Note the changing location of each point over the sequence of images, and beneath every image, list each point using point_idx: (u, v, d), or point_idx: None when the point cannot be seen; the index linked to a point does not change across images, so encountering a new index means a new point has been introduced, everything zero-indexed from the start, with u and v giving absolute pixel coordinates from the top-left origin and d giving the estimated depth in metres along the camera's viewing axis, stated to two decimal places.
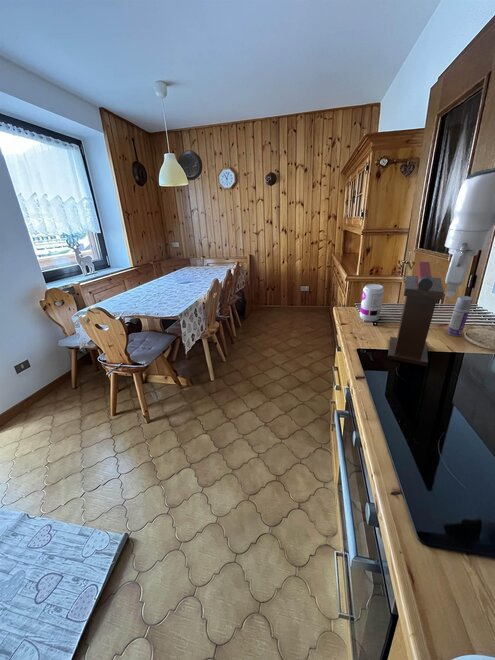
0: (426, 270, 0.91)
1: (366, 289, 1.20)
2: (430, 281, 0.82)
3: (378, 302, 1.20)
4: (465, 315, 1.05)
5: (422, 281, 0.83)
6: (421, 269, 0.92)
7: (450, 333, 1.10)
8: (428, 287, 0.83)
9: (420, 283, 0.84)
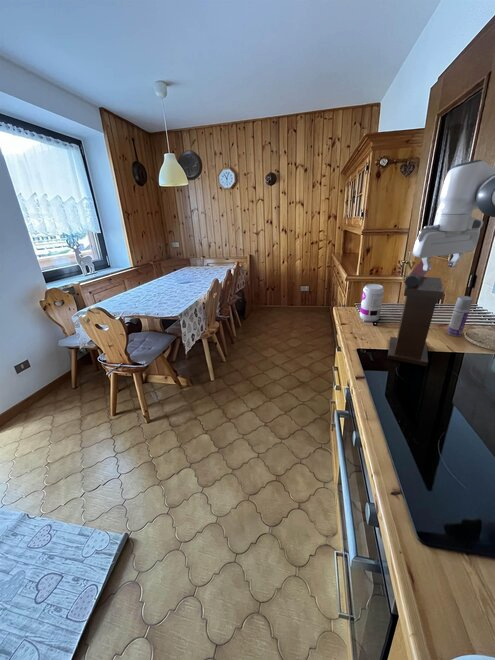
0: (420, 269, 0.93)
1: (366, 289, 1.20)
2: (416, 279, 0.85)
3: (378, 302, 1.20)
4: (465, 315, 1.05)
5: (408, 278, 0.86)
6: (416, 268, 0.94)
7: (450, 333, 1.10)
8: (414, 284, 0.86)
9: (406, 280, 0.87)
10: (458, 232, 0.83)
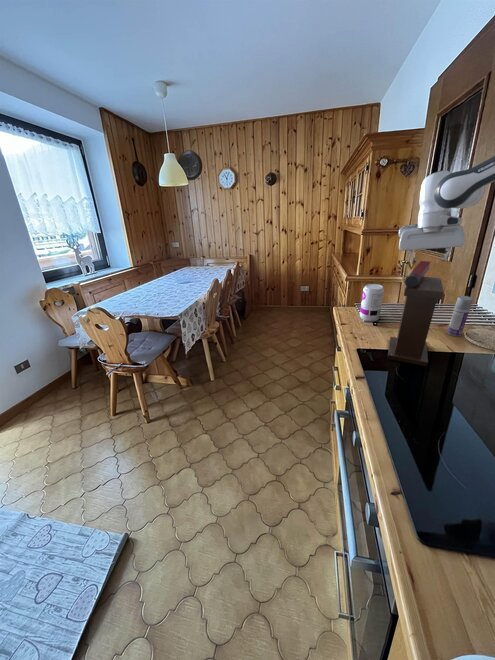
0: (420, 269, 0.93)
1: (366, 289, 1.20)
2: (416, 279, 0.85)
3: (378, 302, 1.20)
4: (465, 315, 1.05)
5: (408, 278, 0.86)
6: (416, 268, 0.94)
7: (450, 333, 1.10)
8: (414, 284, 0.86)
9: (406, 280, 0.87)
10: (432, 228, 1.00)
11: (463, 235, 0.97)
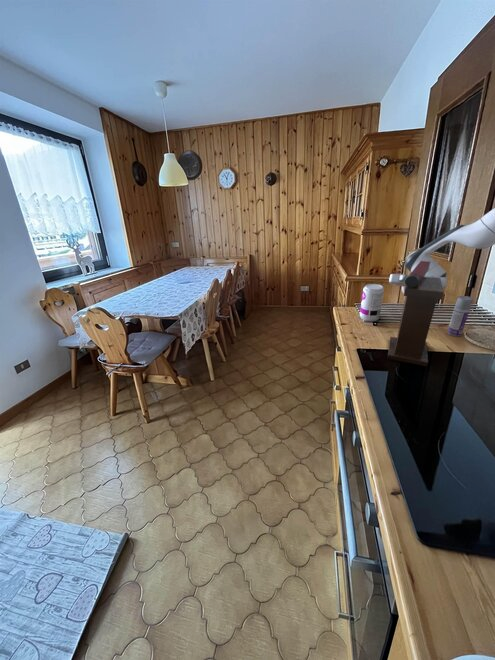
0: (420, 269, 0.93)
1: (366, 289, 1.20)
2: (416, 279, 0.85)
3: (378, 302, 1.20)
4: (465, 315, 1.05)
5: (408, 278, 0.86)
6: (416, 268, 0.94)
7: (450, 333, 1.10)
8: (414, 284, 0.86)
9: (406, 280, 0.87)
10: None
11: None
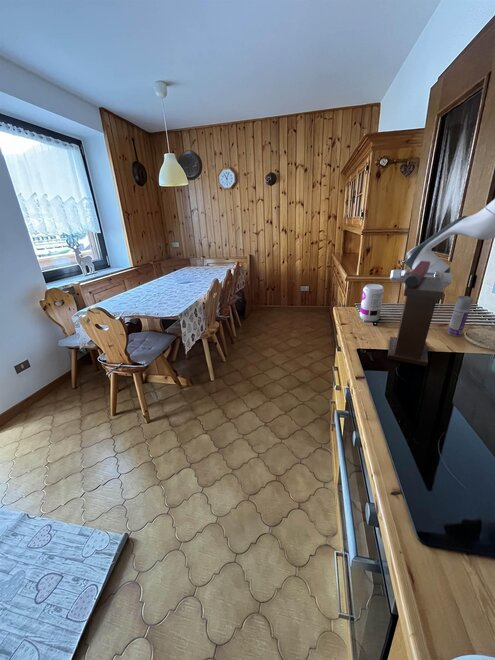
0: (420, 269, 0.93)
1: (366, 289, 1.20)
2: (416, 279, 0.85)
3: (378, 302, 1.20)
4: (465, 315, 1.05)
5: (408, 278, 0.86)
6: (416, 268, 0.94)
7: (450, 333, 1.10)
8: (414, 284, 0.86)
9: (406, 280, 0.87)
10: None
11: None
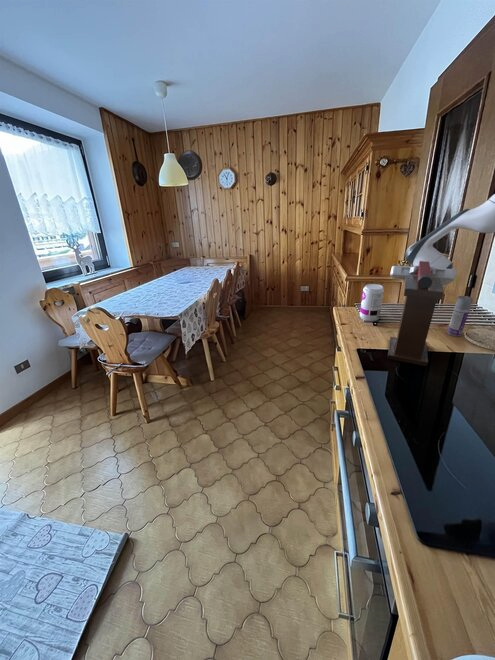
0: (426, 269, 0.92)
1: (366, 289, 1.20)
2: (430, 279, 0.83)
3: (378, 302, 1.20)
4: (465, 315, 1.05)
5: (422, 279, 0.84)
6: (421, 268, 0.93)
7: (450, 333, 1.10)
8: (428, 285, 0.84)
9: (420, 281, 0.85)
10: None
11: None
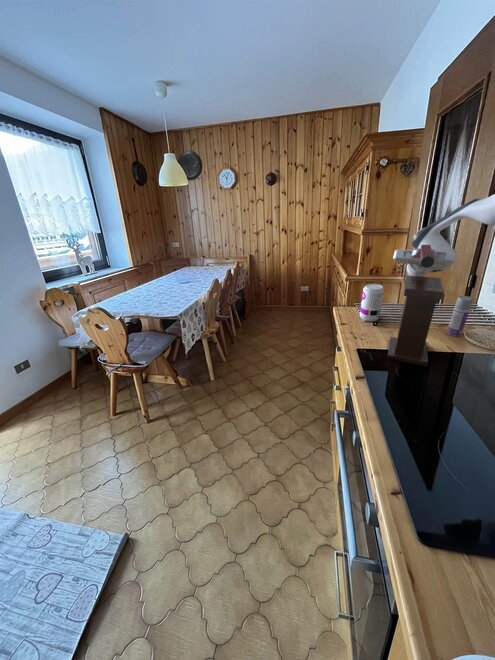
0: (428, 251, 0.96)
1: (366, 289, 1.20)
2: (432, 259, 0.88)
3: (378, 302, 1.20)
4: (465, 315, 1.05)
5: (424, 259, 0.89)
6: (423, 250, 0.98)
7: (450, 333, 1.10)
8: (430, 264, 0.89)
9: (422, 261, 0.89)
10: None
11: None
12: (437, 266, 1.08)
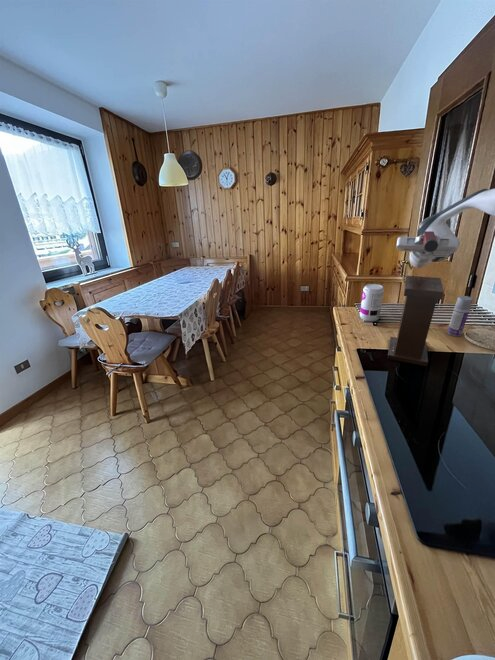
0: (431, 236, 0.97)
1: (366, 289, 1.20)
2: (435, 242, 0.88)
3: (378, 302, 1.20)
4: (465, 315, 1.05)
5: (428, 243, 0.89)
6: (426, 235, 0.98)
7: (450, 333, 1.10)
8: (433, 248, 0.89)
9: (426, 245, 0.89)
10: None
11: None
12: (440, 253, 1.09)
